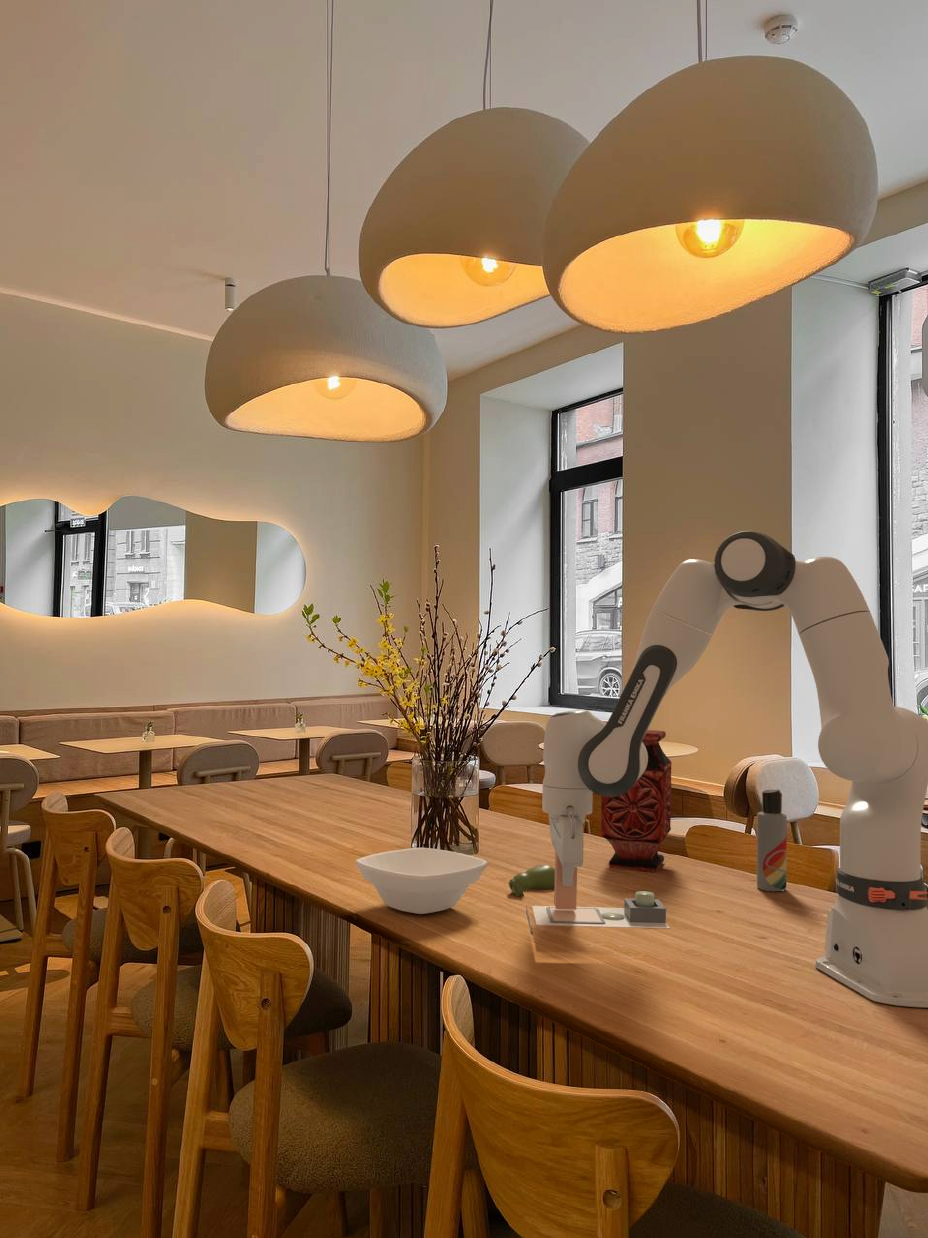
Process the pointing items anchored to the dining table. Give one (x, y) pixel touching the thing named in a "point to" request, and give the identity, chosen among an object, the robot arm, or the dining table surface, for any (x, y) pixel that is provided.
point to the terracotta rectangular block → (564, 889)
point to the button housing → (645, 912)
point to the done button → (644, 899)
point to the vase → (641, 813)
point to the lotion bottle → (771, 843)
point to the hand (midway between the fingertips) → (565, 881)
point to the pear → (533, 879)
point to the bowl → (421, 877)
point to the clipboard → (586, 917)
